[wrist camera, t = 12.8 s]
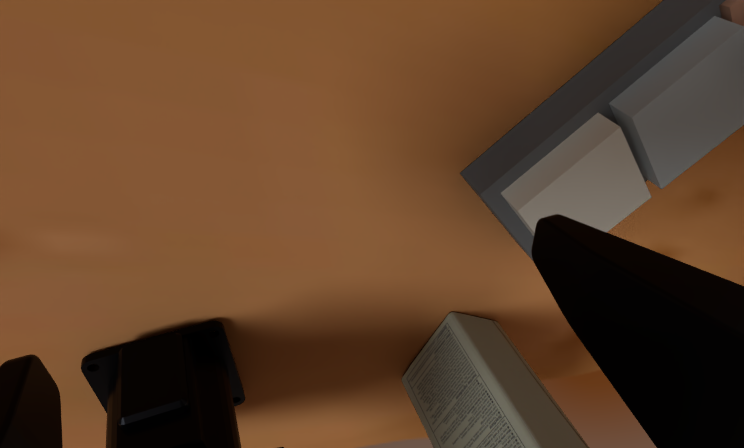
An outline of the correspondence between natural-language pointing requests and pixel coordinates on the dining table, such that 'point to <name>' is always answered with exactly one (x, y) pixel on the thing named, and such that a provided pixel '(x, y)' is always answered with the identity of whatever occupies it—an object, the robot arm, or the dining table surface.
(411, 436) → the dining table surface
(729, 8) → the terracotta key
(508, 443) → the skincare box
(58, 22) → the dining table surface
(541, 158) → the key pad
